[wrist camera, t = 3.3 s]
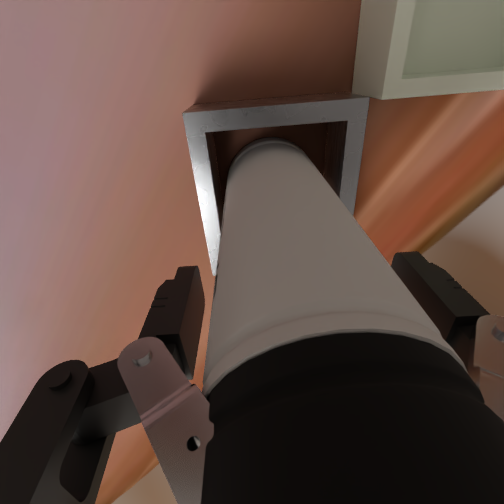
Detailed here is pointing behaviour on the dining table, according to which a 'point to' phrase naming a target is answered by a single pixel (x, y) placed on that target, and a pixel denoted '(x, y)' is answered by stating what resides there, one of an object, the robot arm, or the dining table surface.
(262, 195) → the travel mug
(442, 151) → the dining table surface
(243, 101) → the sleeve
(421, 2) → the tray
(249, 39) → the dining table surface
